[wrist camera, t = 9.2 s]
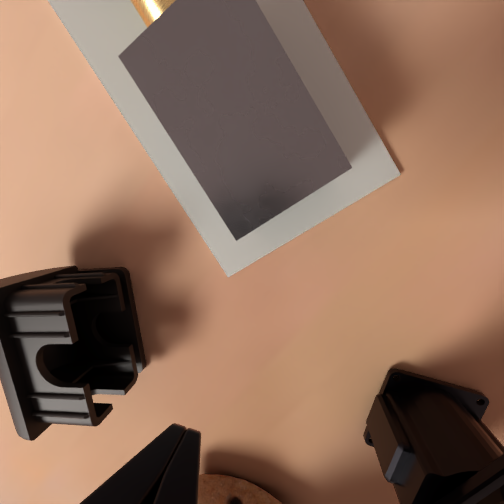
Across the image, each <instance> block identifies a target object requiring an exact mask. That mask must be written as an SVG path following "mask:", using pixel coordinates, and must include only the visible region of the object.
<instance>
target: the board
mask: <svg viewBox="0 0 504 504" xmlns="http://www.w3.org/2000/svg"><path fill="white" fill-rule="evenodd" d="M48 2H49V3H50V5H51V6H52V8H53V9H54V11H55V12H56V14H57V15H58V17H59V18H60V20H61V22H62V23H63V25H64V26H65V28H66V29H67V31H68V32H69V34H70V35H71V37H72V38H73V40H74V41H75V43H76V45H77V46H78V48H79V49H80V51H81V52H82V54H83V55H84V57H85V58H86V60H87V61H88V63H89V65H90V66H91V68H92V69H93V71H94V72H95V74H96V75H97V77H98V78H99V80H100V81H101V83H102V84H103V86H104V88H105V89H106V91H107V92H108V94H109V95H110V97H111V98H112V100H113V101H114V103H115V104H116V106H117V107H118V109H119V111H120V112H121V114H122V115H123V117H124V118H125V120H126V121H127V123H128V124H129V126H130V127H131V129H132V131H133V132H134V134H135V135H136V137H137V138H138V140H139V141H140V143H141V144H142V146H143V147H144V149H145V150H146V152H147V154H148V155H149V157H150V158H151V160H152V161H153V163H154V164H155V166H156V167H157V169H158V170H159V172H160V173H161V175H162V177H163V178H164V180H165V181H166V183H167V184H168V186H169V187H170V189H171V190H172V192H173V193H174V195H175V197H176V198H177V200H178V201H179V203H180V204H181V206H182V207H183V209H184V210H185V212H186V213H187V215H188V216H189V218H190V220H191V221H192V223H193V224H194V226H195V227H196V229H197V230H198V232H199V233H200V235H201V236H202V238H203V239H204V241H205V243H206V244H207V246H208V247H209V249H210V250H211V252H212V253H213V255H214V256H215V258H216V259H217V261H218V263H219V264H220V266H221V267H222V269H223V270H224V272H225V273H226V275H227V276H228V277H230V276H232V275H233V274H235V273H237V272H238V271H240V270H242V269H243V268H245V267H247V266H248V265H250V264H252V263H253V262H255V261H257V260H258V259H260V258H262V257H264V256H265V255H267V254H269V253H270V252H272V251H274V250H275V249H277V248H279V247H280V246H282V245H284V244H285V243H287V242H289V241H290V240H292V239H294V238H295V237H297V236H299V235H300V234H302V233H304V232H305V231H307V230H309V229H311V228H312V227H314V226H316V225H317V224H319V223H321V222H322V221H324V220H326V219H327V218H329V217H331V216H332V215H334V214H336V213H337V212H339V211H341V210H342V209H344V208H346V207H347V206H349V205H351V204H352V203H354V202H356V201H358V200H359V199H361V198H363V197H364V196H366V195H368V194H369V193H371V192H373V191H374V190H376V189H378V188H379V187H381V186H383V185H384V184H386V183H388V182H389V181H391V180H393V179H394V178H396V177H398V176H400V175H401V174H400V172H399V170H398V169H397V167H396V165H395V163H394V162H393V160H392V158H391V156H390V154H389V153H388V151H387V149H386V147H385V145H384V144H383V142H382V140H381V138H380V137H379V135H378V133H377V131H376V129H375V128H374V126H373V124H372V122H371V121H370V119H369V117H368V115H367V113H366V112H365V110H364V108H363V106H362V104H361V103H360V101H359V99H358V97H357V96H356V94H355V92H354V90H353V88H352V87H351V85H350V83H349V81H348V80H347V78H346V76H345V74H344V72H343V71H342V69H341V67H340V65H339V64H338V62H337V60H336V58H335V56H334V55H333V53H332V51H331V49H330V47H329V46H328V44H327V42H326V40H325V39H324V37H323V35H322V33H321V31H320V30H319V28H318V26H317V24H316V23H315V21H314V19H313V17H312V15H311V14H310V12H309V10H308V8H307V6H306V5H305V3H304V1H303V0H256V2H257V3H258V5H259V7H260V9H261V10H262V12H263V14H264V16H265V17H266V19H267V21H268V23H269V24H270V26H271V28H272V29H273V31H274V33H275V35H276V36H277V38H278V40H279V42H280V43H281V45H282V47H283V48H284V50H285V52H286V54H287V55H288V57H289V59H290V61H291V62H292V64H293V66H294V68H295V69H296V71H297V73H298V74H299V76H300V78H301V80H302V81H303V83H304V85H305V87H306V88H307V90H308V92H309V93H310V95H311V97H312V99H313V100H314V102H315V104H316V106H317V107H318V109H319V111H320V112H321V114H322V116H323V118H324V119H325V121H326V123H327V125H328V126H329V128H330V130H331V132H332V133H333V135H334V137H335V138H336V140H337V142H338V144H339V145H340V147H341V149H342V151H343V152H344V154H345V156H346V157H347V159H348V161H349V163H350V164H351V166H352V168H351V169H350V170H348V171H347V172H345V173H343V174H342V175H340V176H339V177H337V178H335V179H334V180H332V181H331V182H329V183H328V184H326V185H324V186H323V187H321V188H320V189H318V190H316V191H315V192H313V193H312V194H310V195H309V196H307V197H305V198H304V199H302V200H301V201H299V202H297V203H296V204H294V205H293V206H291V207H290V208H288V209H286V210H285V211H283V212H282V213H280V214H278V215H277V216H275V217H274V218H272V219H270V220H269V221H267V222H266V223H264V224H263V225H261V226H259V227H258V228H256V229H255V230H253V231H251V232H250V233H248V234H247V235H245V236H244V237H242V238H240V239H239V240H237V241H236V240H235V238H234V237H233V235H232V234H231V232H230V230H229V229H228V227H227V226H226V224H225V223H224V221H223V220H222V218H221V216H220V215H219V213H218V212H217V210H216V209H215V207H214V205H213V204H212V202H211V201H210V199H209V198H208V196H207V195H206V193H205V191H204V190H203V188H202V187H201V185H200V184H199V182H198V180H197V179H196V177H195V176H194V174H193V173H192V171H191V169H190V168H189V166H188V165H187V163H186V162H185V160H184V159H183V157H182V155H181V154H180V152H179V151H178V149H177V148H176V146H175V144H174V143H173V141H172V140H171V138H170V137H169V135H168V134H167V132H166V130H165V129H164V127H163V126H162V124H161V123H160V121H159V119H158V118H157V116H156V115H155V113H154V112H153V110H152V108H151V107H150V105H149V104H148V102H147V101H146V99H145V98H144V96H143V94H142V93H141V91H140V90H139V88H138V87H137V85H136V83H135V82H134V80H133V79H132V77H131V76H130V74H129V72H128V71H127V69H126V68H125V66H124V65H123V63H122V62H121V60H120V58H119V57H118V56H119V55H120V54H121V53H122V52H123V51H124V50H125V49H126V48H127V47H128V46H129V45H130V44H131V43H132V42H133V41H134V40H135V39H136V38H137V37H138V36H139V35H140V34H141V33H142V32H143V31H144V30H145V29H146V28H147V27H146V25H145V23H144V22H143V20H142V18H141V17H140V15H139V14H138V12H137V10H136V9H135V7H134V6H133V4H132V2H131V1H130V0H48Z"/></svg>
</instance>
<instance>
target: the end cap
mask: <svg viewBox="0 0 504 504" xmlns="http://www.w3.org/2000/svg"><path fill="white" fill-rule="evenodd" d="M145 367H146V360H145V355H144V350H143V344H142V339H141V334H140V328H139V323H138V317H137V312H136V307H135V301H134V296H133V290H132V285H131V280H130V274H129V272H128V270H127V269H126V268H123V267H115V268H97V269H82V270H78V268H77V267H76V266H67V267H59V268H52V269H45V270H40V271H34V272H29V273H24V274H20V275H16V276H11V277H7V278H4V279H0V380H1V383H2V386H3V389H4V393H5V396H6V399H7V403H8V406H9V409H10V412H11V416H12V419H13V422H14V425H15V429H16V431H17V433H18V435H19V436H20V437H22V438H23V439H26V440H31V441H32V440H35V439H36V438H37V437H38V436H39V435H40V434H41V433H42V432H44V431H45V430H46V429H47V428H48V427H49V426H50V425H51V424H52V423H53V424H68V425H83V426H98V425H99V424H100V423H101V422H102V421H103V420H104V419H105V418H106V416H107V415H108V414H109V413H110V412H111V411H112V410H113V407H112V404H105V403H93V399H92V395H94V394H111V395H125V394H126V393H127V392H128V391H129V390H130V389H131V388H132V386H133V385H134V384H135V383H136V381H137V377H138V373H140V372H141V371H142V370H143V369H144V368H145Z"/></svg>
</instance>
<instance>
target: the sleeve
mask: <svg viewBox="0 0 504 504" xmlns="http://www.w3.org/2000/svg"><path fill="white" fill-rule="evenodd" d="M118 57H119V58H120V60H121V62H122V63H123V65H124V66H125V68H126V69H127V71H128V72H129V74H130V76H131V77H132V79H133V80H134V82H135V83H136V85H137V87H138V88H139V90H140V91H141V93H142V94H143V96H144V98H145V99H146V101H147V102H148V104H149V105H150V107H151V108H152V110H153V112H154V113H155V115H156V116H157V118H158V119H159V121H160V123H161V124H162V126H163V127H164V129H165V130H166V132H167V134H168V135H169V137H170V138H171V140H172V141H173V143H174V144H175V146H176V148H177V149H178V151H179V152H180V154H181V155H182V157H183V159H184V160H185V162H186V163H187V165H188V166H189V168H190V169H191V171H192V173H193V174H194V176H195V177H196V179H197V180H198V182H199V184H200V185H201V187H202V188H203V190H204V191H205V193H206V195H207V196H208V198H209V199H210V201H211V202H212V204H213V205H214V207H215V209H216V210H217V212H218V213H219V215H220V216H221V218H222V220H223V221H224V223H225V224H226V226H227V227H228V229H229V230H230V232H231V234H232V235H233V237H234V238H235V240H236V241H237V240H239V239H240V238H242V237H244V236H245V235H247V234H248V233H250V232H251V231H253V230H255V229H256V228H258V227H259V226H261V225H263V224H264V223H266V222H267V221H269V220H270V219H272V218H274V217H275V216H277V215H278V214H280V213H282V212H283V211H285V210H286V209H288V208H290V207H291V206H293V205H294V204H296V203H297V202H299V201H301V200H302V199H304V198H305V197H307V196H309V195H310V194H312V193H313V192H315V191H316V190H318V189H320V188H321V187H323V186H324V185H326V184H328V183H329V182H331V181H332V180H334V179H335V178H337V177H339V176H340V175H342V174H343V173H345V172H347V171H348V170H350V169H351V168H352V166H351V164H350V163H349V161H348V159H347V157H346V156H345V154H344V152H343V151H342V149H341V147H340V145H339V144H338V142H337V140H336V138H335V137H334V135H333V133H332V132H331V130H330V128H329V126H328V125H327V123H326V121H325V119H324V118H323V116H322V114H321V112H320V111H319V109H318V107H317V106H316V104H315V102H314V100H313V99H312V97H311V95H310V93H309V92H308V90H307V88H306V87H305V85H304V83H303V81H302V80H301V78H300V76H299V74H298V73H297V71H296V69H295V68H294V66H293V64H292V62H291V61H290V59H289V57H288V55H287V54H286V52H285V50H284V48H283V47H282V45H281V43H280V42H279V40H278V38H277V36H276V35H275V33H274V31H273V29H272V28H271V26H270V24H269V23H268V21H267V19H266V17H265V16H264V14H263V12H262V10H261V9H260V7H259V5H258V3H257V2H256V0H175V1H174V2H173V3H172V4H171V5H170V6H169V7H168V8H167V9H166V10H165V11H164V12H163V13H162V14H161V15H160V16H159V17H158V18H157V19H156V20H155V21H154V22H153V23H152V24H151V25H150V26H149V27H148V28H146V29H145V30H144V31H143V32H142V33H141V34H140V35H139V36H138V37H137V38H136V39H135V40H134V41H133V42H132V43H131V44H130V45H129V46H128V47H127V48H126V49H125V50H124V51H123V52H122V53H121V54H120V55H119V56H118Z"/></svg>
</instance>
